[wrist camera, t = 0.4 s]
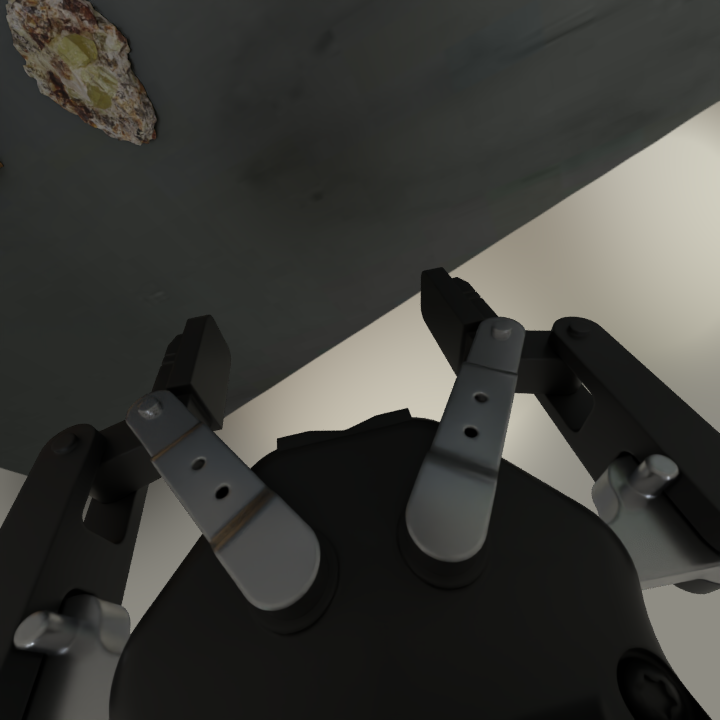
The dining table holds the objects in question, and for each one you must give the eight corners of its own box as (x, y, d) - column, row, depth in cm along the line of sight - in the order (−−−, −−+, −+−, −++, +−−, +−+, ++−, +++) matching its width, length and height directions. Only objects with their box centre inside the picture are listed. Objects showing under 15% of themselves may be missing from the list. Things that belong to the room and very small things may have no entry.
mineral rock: (-42, 30, 23) (12, -61, 20) (2, 22, 26) (56, -60, 22) (112, 176, 30) (169, 126, 27) (134, 157, 33) (189, 110, 30)
